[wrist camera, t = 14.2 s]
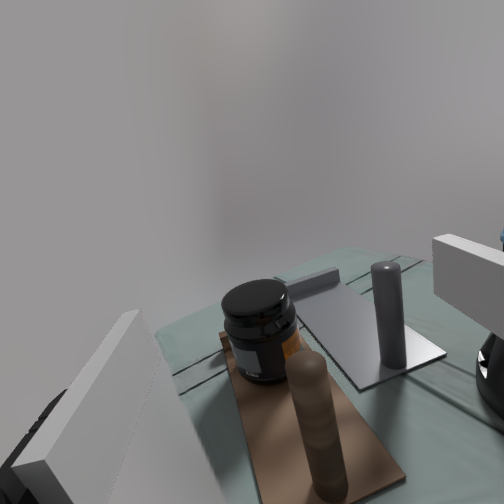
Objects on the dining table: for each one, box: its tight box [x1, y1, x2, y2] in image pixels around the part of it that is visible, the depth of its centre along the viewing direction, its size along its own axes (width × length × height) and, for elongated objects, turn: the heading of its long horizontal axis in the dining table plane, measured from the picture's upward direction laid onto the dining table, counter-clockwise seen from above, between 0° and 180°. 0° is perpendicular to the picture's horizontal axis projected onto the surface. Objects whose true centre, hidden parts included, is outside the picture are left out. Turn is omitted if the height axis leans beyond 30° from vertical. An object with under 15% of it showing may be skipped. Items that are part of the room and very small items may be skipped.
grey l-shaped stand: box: [284, 261, 447, 391], centre depth 47 cm, size 28×13×14 cm, turn 14°
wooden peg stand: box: [219, 331, 406, 504], centre depth 35 cm, size 28×13×14 cm, turn 14°
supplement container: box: [221, 279, 304, 386], centre depth 41 cm, size 10×10×12 cm
